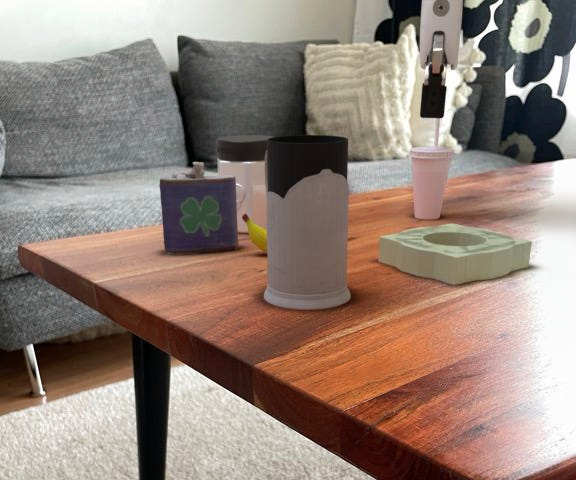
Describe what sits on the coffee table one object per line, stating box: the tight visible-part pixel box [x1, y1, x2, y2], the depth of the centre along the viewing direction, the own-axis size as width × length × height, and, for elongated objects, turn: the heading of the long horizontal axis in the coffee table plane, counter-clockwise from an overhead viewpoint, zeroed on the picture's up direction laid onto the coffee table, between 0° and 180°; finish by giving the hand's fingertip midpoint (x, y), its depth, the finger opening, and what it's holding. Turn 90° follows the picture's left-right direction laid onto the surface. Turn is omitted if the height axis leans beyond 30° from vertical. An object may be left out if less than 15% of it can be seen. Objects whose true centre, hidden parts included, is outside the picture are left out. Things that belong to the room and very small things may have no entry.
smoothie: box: [408, 118, 455, 220], centre depth 104 cm, size 6×6×14 cm
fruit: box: [242, 214, 267, 253], centre depth 86 cm, size 10×2×5 cm, turn 88°
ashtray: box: [377, 222, 533, 286], centre depth 82 cm, size 13×13×3 cm
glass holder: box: [263, 134, 352, 311], centre depth 71 cm, size 9×14×15 cm, turn 24°
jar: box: [216, 134, 273, 234], centre depth 99 cm, size 9×8×12 cm
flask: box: [158, 161, 239, 255], centre depth 87 cm, size 9×3×11 cm, turn 103°
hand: (431, 115), depth 101 cm, fingers open, 9 cm apart
